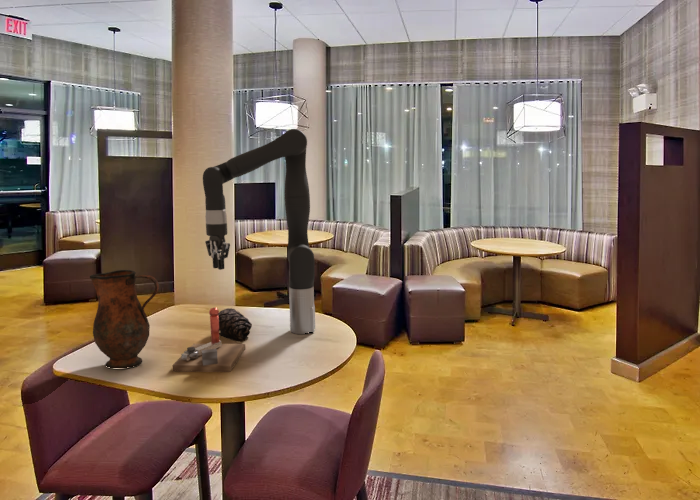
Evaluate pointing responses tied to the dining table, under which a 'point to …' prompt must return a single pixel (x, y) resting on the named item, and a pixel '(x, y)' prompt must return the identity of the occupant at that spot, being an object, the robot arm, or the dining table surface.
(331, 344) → the dining table surface
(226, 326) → the pine cone
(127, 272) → the pitcher
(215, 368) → the base
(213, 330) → the lever
